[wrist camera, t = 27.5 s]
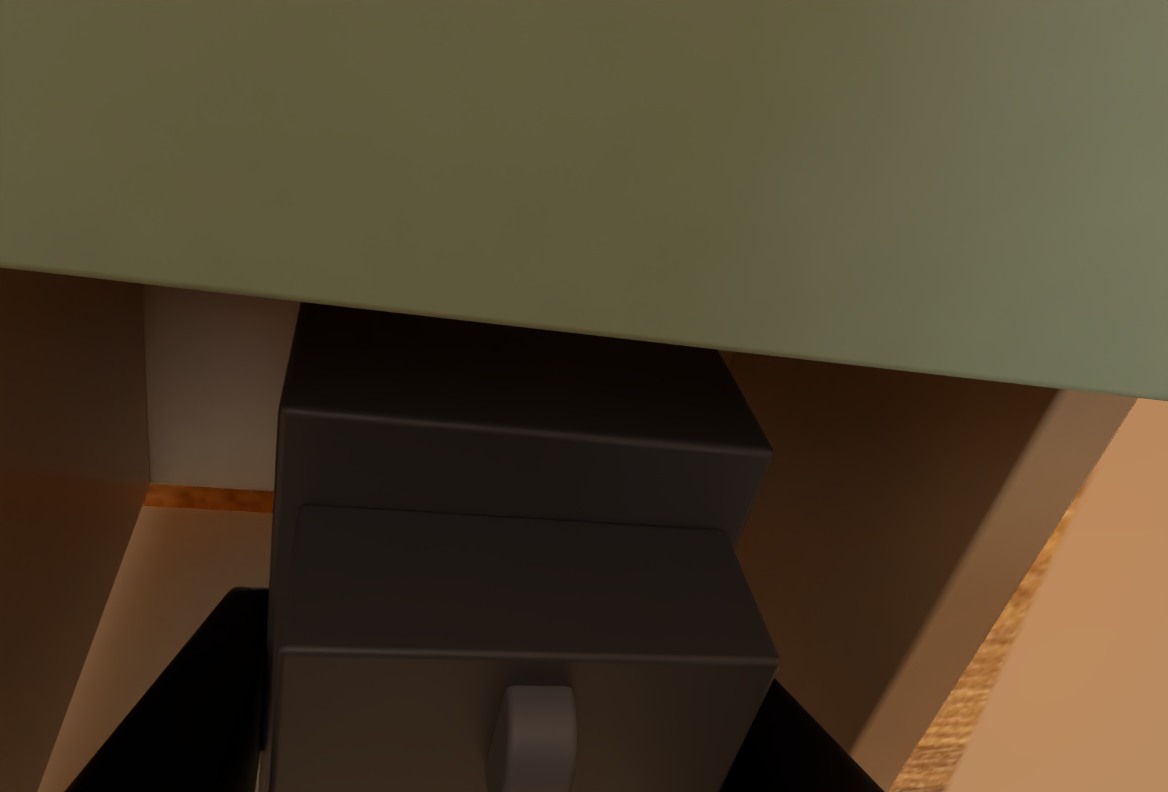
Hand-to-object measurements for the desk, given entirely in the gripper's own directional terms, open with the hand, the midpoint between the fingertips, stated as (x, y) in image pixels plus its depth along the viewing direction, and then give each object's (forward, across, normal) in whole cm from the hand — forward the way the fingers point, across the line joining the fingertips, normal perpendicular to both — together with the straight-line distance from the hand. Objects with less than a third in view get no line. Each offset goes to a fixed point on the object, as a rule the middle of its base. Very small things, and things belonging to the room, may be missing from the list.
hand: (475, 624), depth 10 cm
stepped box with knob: (+1, 0, 0) cm, 1 cm away
